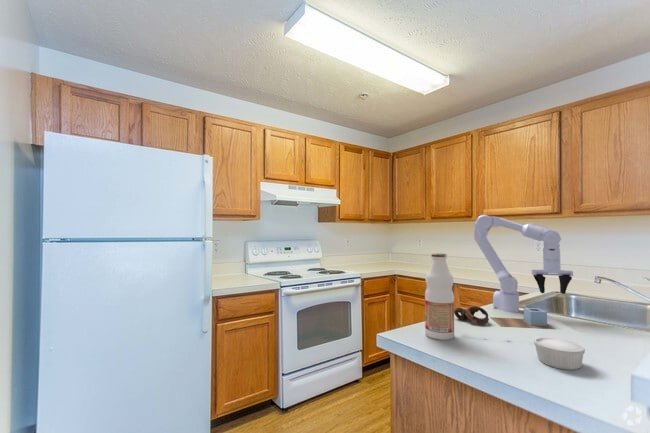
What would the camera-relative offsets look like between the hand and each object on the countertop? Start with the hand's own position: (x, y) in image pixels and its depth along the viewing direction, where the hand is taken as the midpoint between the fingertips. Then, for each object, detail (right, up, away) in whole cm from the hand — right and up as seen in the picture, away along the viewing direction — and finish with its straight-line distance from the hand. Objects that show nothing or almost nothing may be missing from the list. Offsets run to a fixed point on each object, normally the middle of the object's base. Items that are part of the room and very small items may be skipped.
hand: (552, 293), depth 130 cm
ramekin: (-29, -9, -43) cm, 52 cm away
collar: (-15, -8, -12) cm, 21 cm away
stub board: (-20, -10, -11) cm, 25 cm away
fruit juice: (-54, -10, -21) cm, 59 cm away
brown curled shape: (-37, -10, -9) cm, 40 cm away
